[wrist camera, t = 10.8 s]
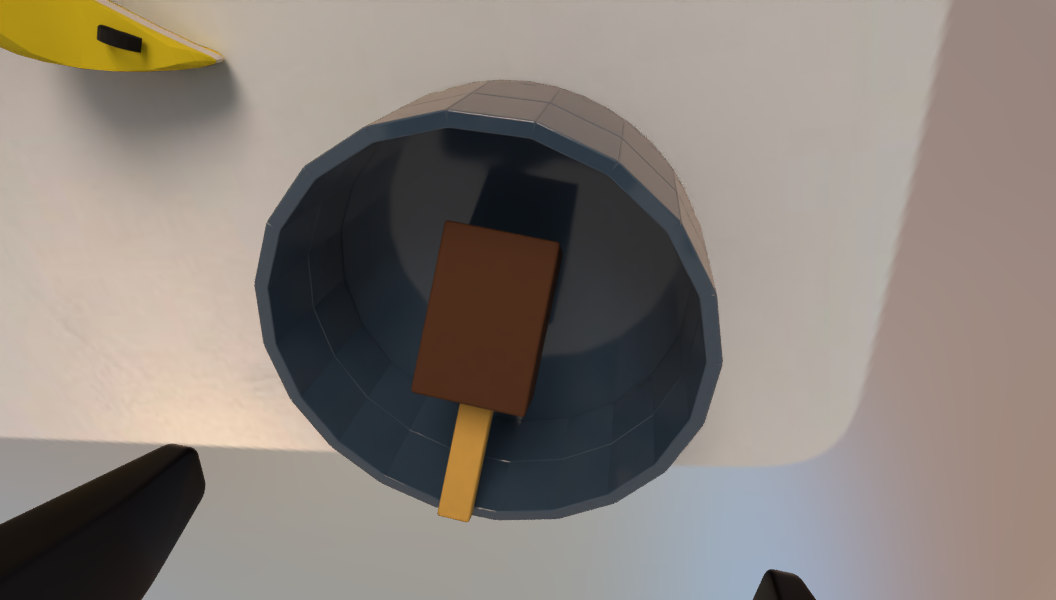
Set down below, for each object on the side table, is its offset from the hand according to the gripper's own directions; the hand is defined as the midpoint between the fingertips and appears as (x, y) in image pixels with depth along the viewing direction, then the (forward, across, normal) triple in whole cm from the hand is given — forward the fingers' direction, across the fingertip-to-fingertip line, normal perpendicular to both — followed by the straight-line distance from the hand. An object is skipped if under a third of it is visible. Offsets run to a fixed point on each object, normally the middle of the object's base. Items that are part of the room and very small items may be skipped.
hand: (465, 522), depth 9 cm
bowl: (+12, +2, +2) cm, 12 cm away
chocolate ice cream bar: (+9, +2, +4) cm, 10 cm away
